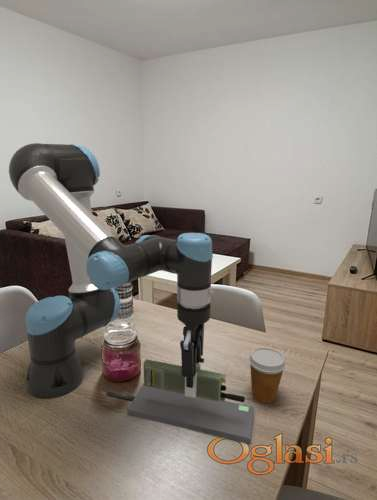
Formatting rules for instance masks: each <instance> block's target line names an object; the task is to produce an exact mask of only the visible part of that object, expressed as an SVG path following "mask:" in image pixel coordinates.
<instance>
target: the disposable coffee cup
mask: <svg viewBox="0 0 377 500" xmlns="http://www.w3.org/2000/svg"><path fill="white" fill-rule="evenodd" d="M248 362H249V365H250V380H251V381H250V384H251V395H252V397H253V398H254V399H255V400H256V401H257V402H258V403H262V404H271V403H273V402H274V401H275V400H276V398H277V395H278V392H279V391H278V390H279V387H280V383H281V379H282V375H283V372H284V370H285V369H286V365H287V362H286V360H285V356H284V354H282V352H280V351H279V350H278V349H274V348H271V347H265V346H264V347H262V346H261V347H257V348H254V349H253V350H252V351H251V353H250V354H249V356H248Z"/></svg>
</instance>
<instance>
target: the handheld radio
mask: <svg viewBox="0 0 377 500" xmlns="http://www.w3.org/2000/svg"><path fill="white" fill-rule="evenodd" d="M142 364H143V365H142V366H143V384H144V386H147V387H152V388H157V389H161V390H166V391H171V392H176V393H180V394H185V377H182V374H181V371H182V365H179V364H173V363H167V362H162V361H157V360H153V359H152V360H150V359H145V360H144V362H143V363H142ZM196 372H197V396H196V397H200V398H204V399H209V400H214V401H226V399H227V400H230V401H235V402H240V403H245V402H246V401H245V400H246V398H245V397H246V396H243V395H237V394H233V393H226V392H225V391H227V386H226V385H224V384H226V382H227V380H226V378H227V374H226V373H220V372H217V371H216V372H215V371H209V370H207V369H206V370H205V369H201V370H200V369H196Z"/></svg>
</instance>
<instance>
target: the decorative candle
mask: <svg viewBox="0 0 377 500" xmlns="http://www.w3.org/2000/svg"><path fill="white" fill-rule="evenodd" d="M132 282H133V281H130V282H128V283H125V284H124V285H122V286H120V287H115V288H114V289H115V290H116V293H117V294H118V296H119V299H120V311H119V314H118V316H117V317H116V319H115V320H114V321H117V320H125V321H129V320H131V319H132V318H133V317H134V302H133V301H134V299H133V293H132V290H133V286H134V284H133V283H132Z"/></svg>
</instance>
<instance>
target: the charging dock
mask: <svg viewBox="0 0 377 500" xmlns="http://www.w3.org/2000/svg"><path fill="white" fill-rule="evenodd" d="M106 395H108V396H113V397H115V398H121V399H125V400H130V401H131V403H130V404H129V406H128V408H127V409H126V411H127V413H126V414H127V415H129V416H133V417H136V418H141V419H145V420H149V421H154V422H158V423H163V424H166V425H170V426H174V427H178V428H183V429H186V430H190V431H195V432H200V433H203V434H208V435H211V436H216V437H219V438H223V439H228V440H233V441H236V442H240V443H244V444H251V438H252V429H253V424H254V423H253V422H254V414H255V406H251V405H247V404H241V403H237V402H232V401H228V400H225V401H214V400H209V399H204V398H200V397H196V398H192V397H187V396H185V394H180V393H176V392H171V391H166V390H161V389H157V388H152V387H147V386H144V383H142V385H141V387H140V389H138V391H137V393H136V395H135V396H133V395H129V394H125V393H121V392H116V391H112V390H107V391H106Z"/></svg>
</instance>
